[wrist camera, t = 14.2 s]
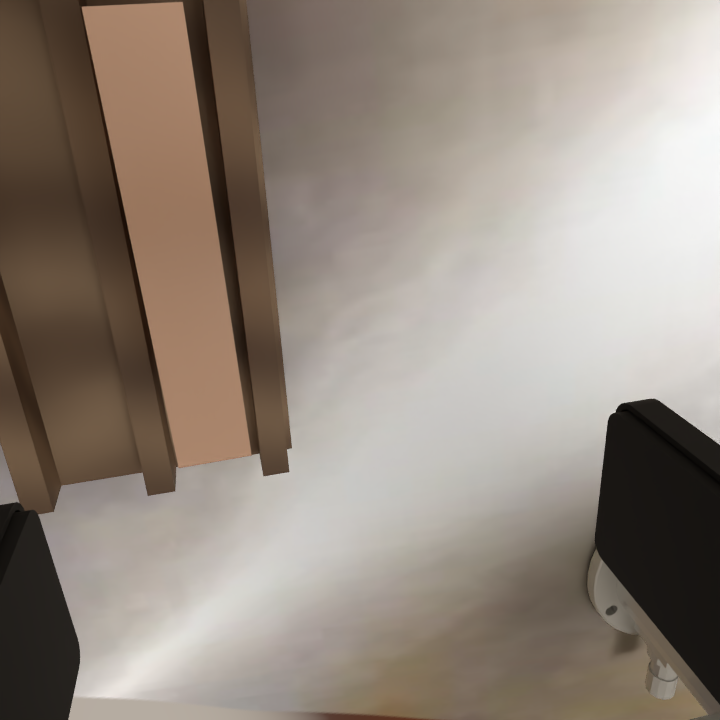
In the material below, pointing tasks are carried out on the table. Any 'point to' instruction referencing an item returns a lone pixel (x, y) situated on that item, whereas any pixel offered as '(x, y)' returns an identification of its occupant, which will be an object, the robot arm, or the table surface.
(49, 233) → the wooden stepped riser
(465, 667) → the table surface
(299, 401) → the table surface
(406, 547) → the table surface
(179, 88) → the clay strip
